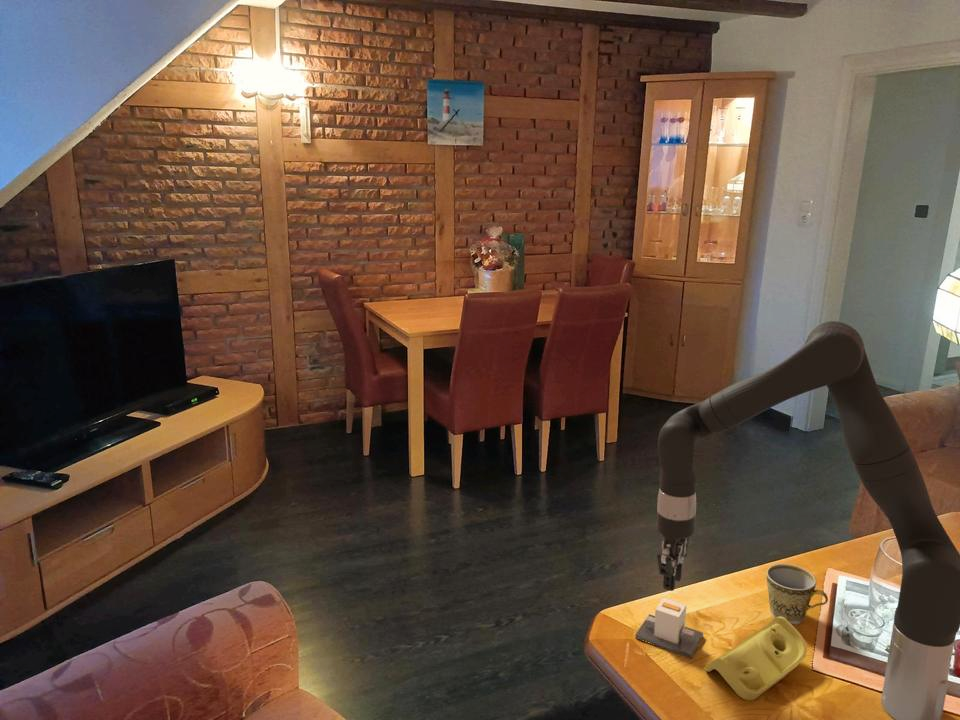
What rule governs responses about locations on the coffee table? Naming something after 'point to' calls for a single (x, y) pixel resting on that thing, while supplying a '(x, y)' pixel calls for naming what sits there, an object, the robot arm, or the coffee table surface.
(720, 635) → the coffee table surface
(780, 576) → the ceramic cup
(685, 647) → the panel
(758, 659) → the plastic component
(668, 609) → the block
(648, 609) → the coffee table surface
